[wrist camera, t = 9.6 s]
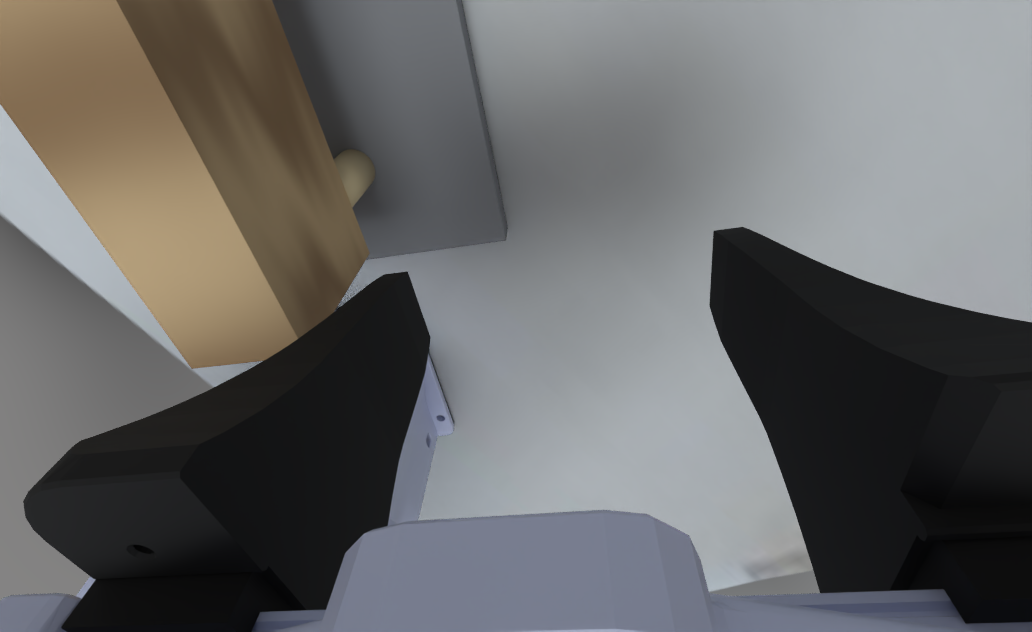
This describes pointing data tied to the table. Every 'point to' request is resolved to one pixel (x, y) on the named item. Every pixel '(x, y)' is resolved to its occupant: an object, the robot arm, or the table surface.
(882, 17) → the table surface
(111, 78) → the oak bar
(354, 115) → the peg stand
